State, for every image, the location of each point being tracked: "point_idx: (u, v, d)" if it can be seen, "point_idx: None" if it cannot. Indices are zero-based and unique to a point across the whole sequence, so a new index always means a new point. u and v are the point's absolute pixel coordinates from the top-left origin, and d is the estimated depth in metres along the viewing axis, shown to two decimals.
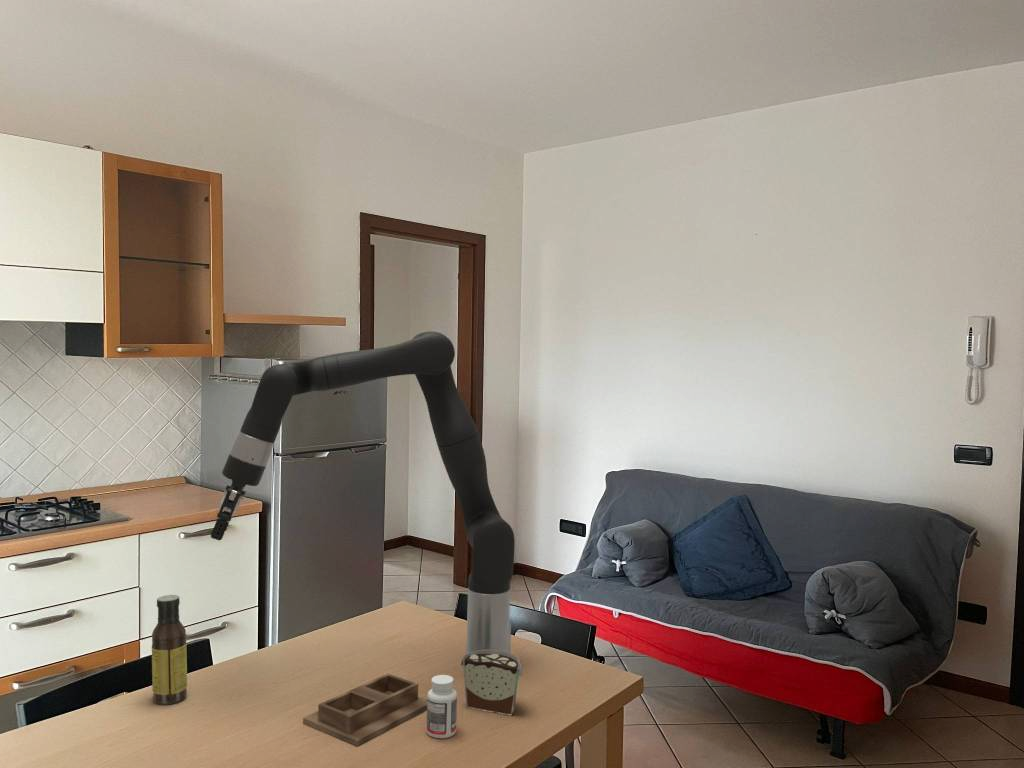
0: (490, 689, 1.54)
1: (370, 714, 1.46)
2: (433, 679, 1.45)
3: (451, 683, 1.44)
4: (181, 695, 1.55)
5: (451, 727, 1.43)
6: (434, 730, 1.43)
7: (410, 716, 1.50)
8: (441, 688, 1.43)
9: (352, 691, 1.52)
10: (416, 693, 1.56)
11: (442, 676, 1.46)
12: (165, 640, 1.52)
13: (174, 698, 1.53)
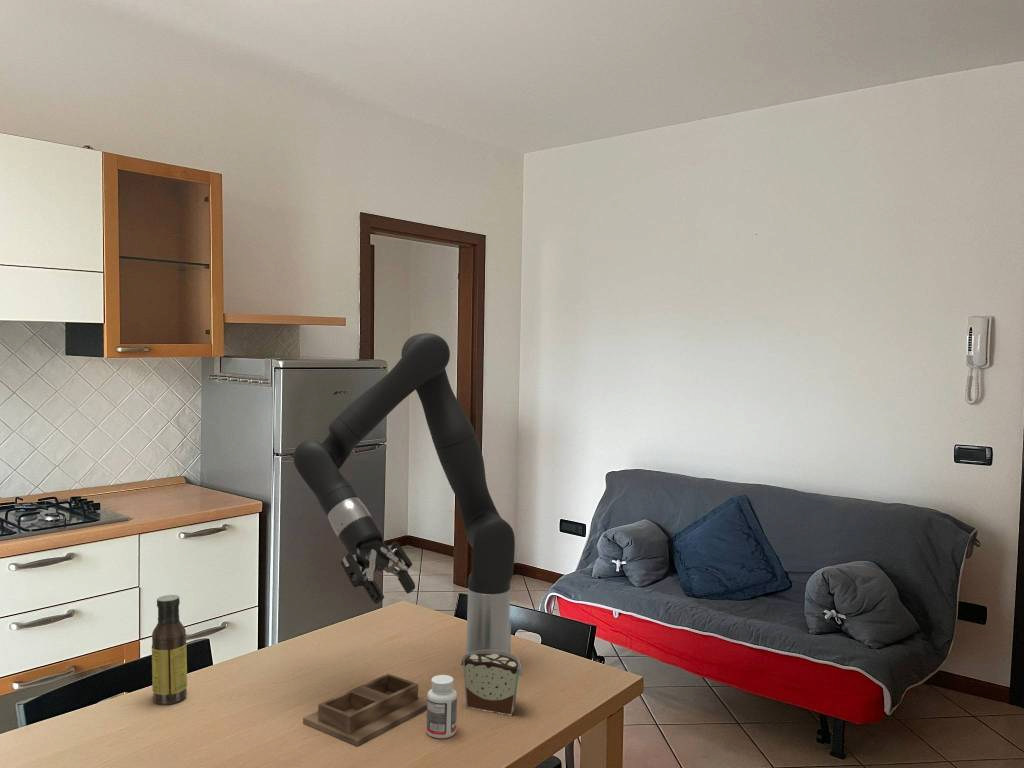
0: (490, 689, 1.54)
1: (370, 714, 1.46)
2: (433, 679, 1.45)
3: (451, 683, 1.44)
4: (181, 695, 1.55)
5: (451, 727, 1.43)
6: (434, 730, 1.43)
7: (410, 716, 1.50)
8: (441, 688, 1.43)
9: (352, 691, 1.52)
10: (416, 693, 1.56)
11: (442, 676, 1.46)
12: (165, 640, 1.52)
13: (174, 698, 1.53)
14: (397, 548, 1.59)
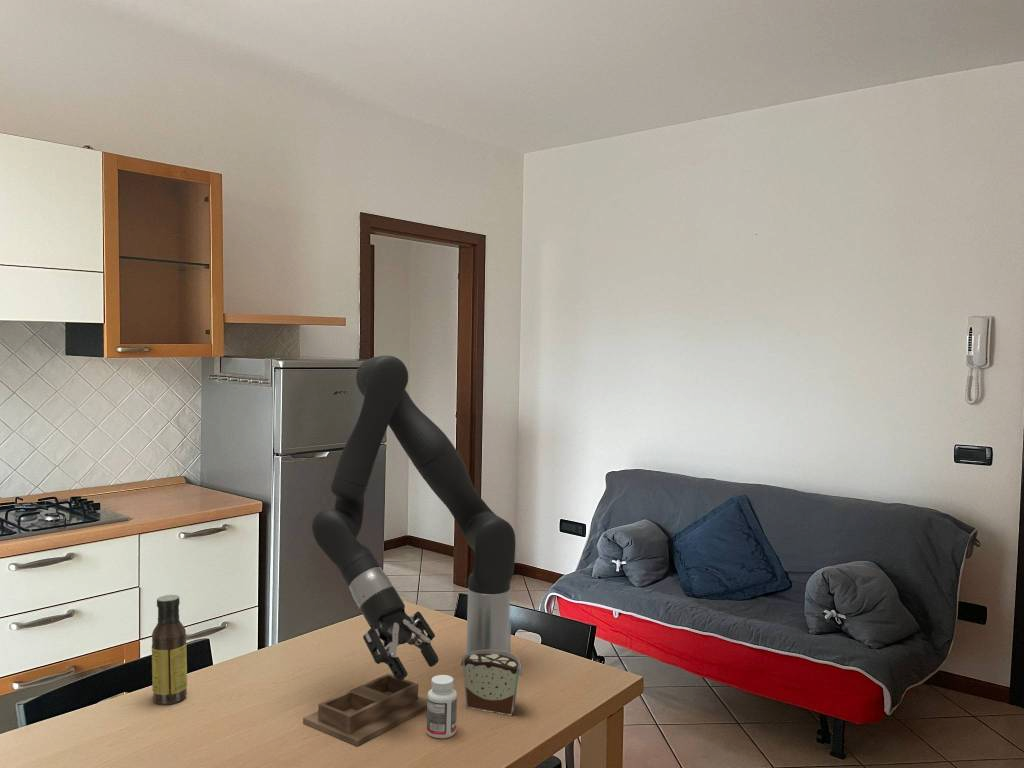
0: (490, 689, 1.54)
1: (370, 714, 1.46)
2: (433, 679, 1.45)
3: (451, 683, 1.44)
4: (181, 695, 1.55)
5: (451, 727, 1.43)
6: (434, 730, 1.43)
7: (410, 716, 1.50)
8: (441, 688, 1.43)
9: (352, 691, 1.52)
10: (416, 693, 1.56)
11: (442, 676, 1.46)
12: (165, 640, 1.52)
13: (174, 698, 1.53)
14: (419, 619, 1.56)
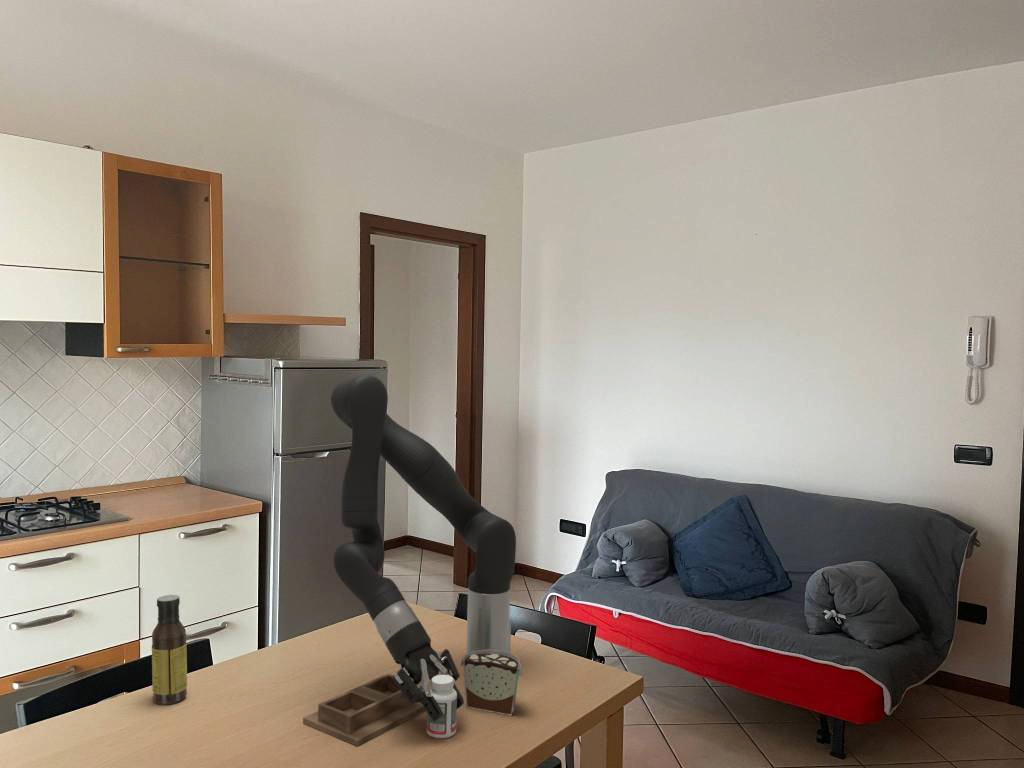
0: (490, 689, 1.54)
1: (370, 714, 1.46)
2: (433, 679, 1.45)
3: (451, 683, 1.44)
4: (181, 695, 1.55)
5: (451, 727, 1.43)
6: (434, 730, 1.43)
7: (410, 716, 1.50)
8: (441, 688, 1.43)
9: (352, 691, 1.52)
10: None
11: (442, 676, 1.46)
12: (166, 640, 1.52)
13: (174, 698, 1.53)
14: (447, 657, 1.51)
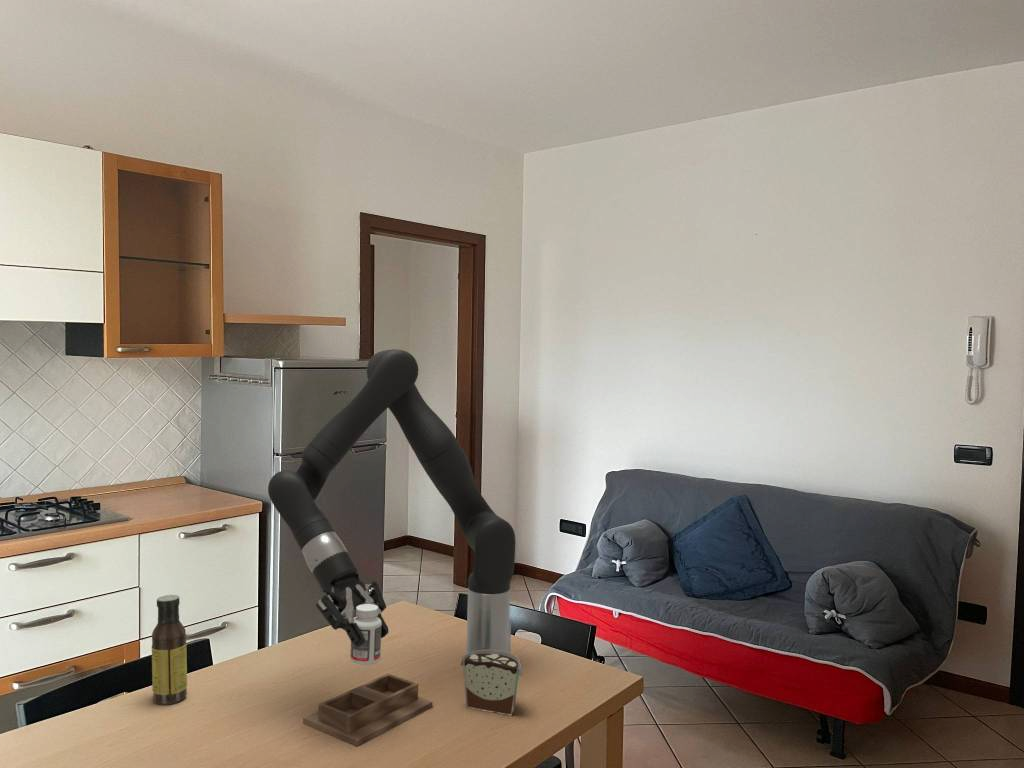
0: (490, 689, 1.54)
1: (370, 714, 1.46)
2: (358, 607, 1.46)
3: (375, 611, 1.45)
4: (181, 695, 1.55)
5: (374, 654, 1.44)
6: (357, 656, 1.44)
7: (410, 716, 1.50)
8: (365, 615, 1.44)
9: (352, 691, 1.52)
10: (416, 693, 1.56)
11: (367, 605, 1.47)
12: (165, 640, 1.52)
13: (174, 698, 1.53)
14: (374, 588, 1.52)
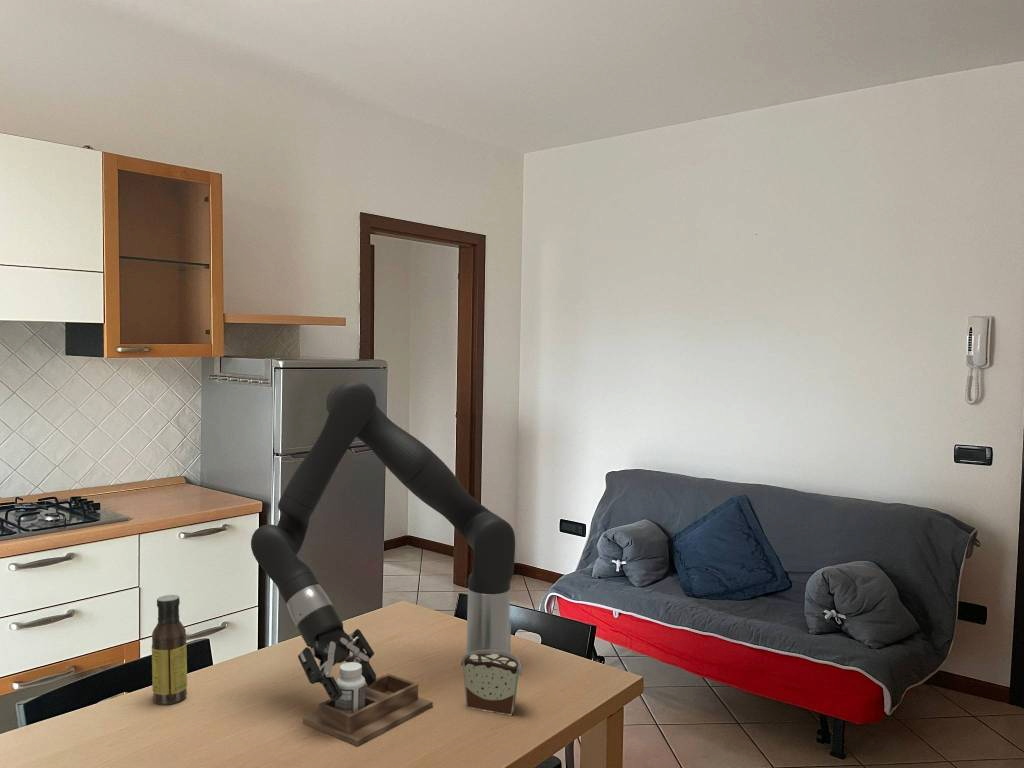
0: (490, 689, 1.54)
1: (370, 714, 1.46)
2: (341, 666, 1.47)
3: (359, 670, 1.46)
4: (181, 695, 1.55)
5: None
6: None
7: (410, 716, 1.50)
8: (348, 675, 1.45)
9: None
10: (416, 693, 1.56)
11: (351, 663, 1.48)
12: (165, 640, 1.52)
13: (174, 698, 1.53)
14: (359, 636, 1.54)
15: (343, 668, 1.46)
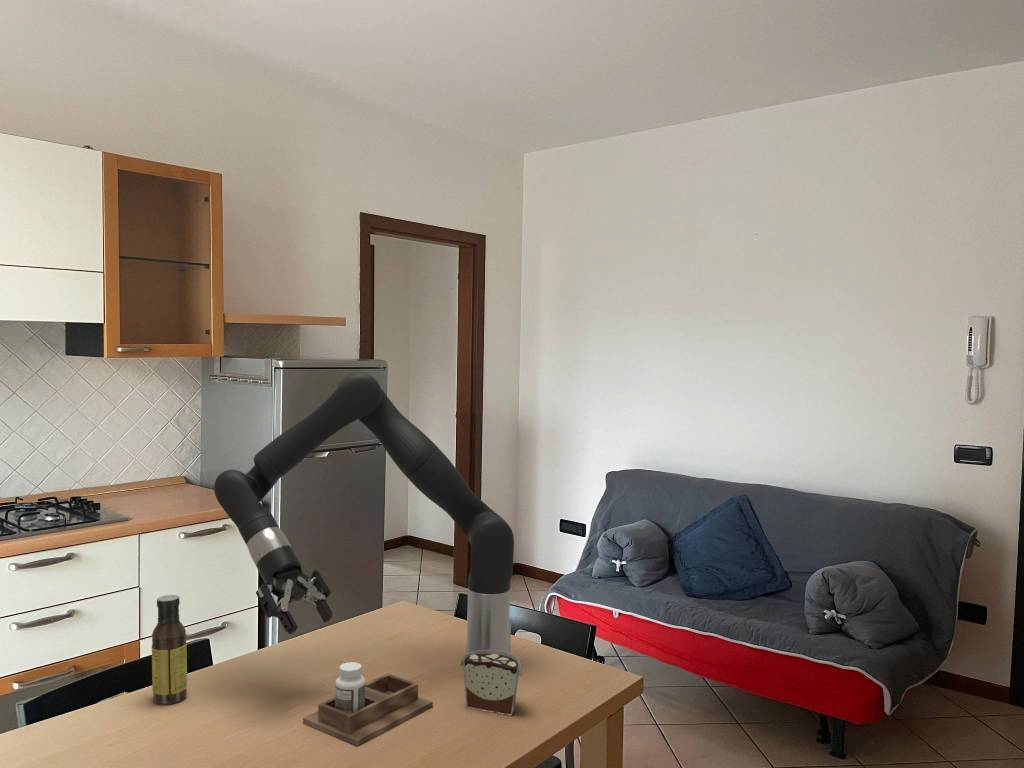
0: (490, 689, 1.54)
1: (370, 714, 1.46)
2: (341, 666, 1.47)
3: (358, 670, 1.46)
4: (181, 695, 1.55)
5: None
6: None
7: (410, 716, 1.50)
8: (348, 675, 1.45)
9: None
10: (416, 693, 1.56)
11: (351, 663, 1.48)
12: (165, 640, 1.52)
13: (174, 698, 1.53)
14: (316, 577, 1.60)
15: (343, 668, 1.46)
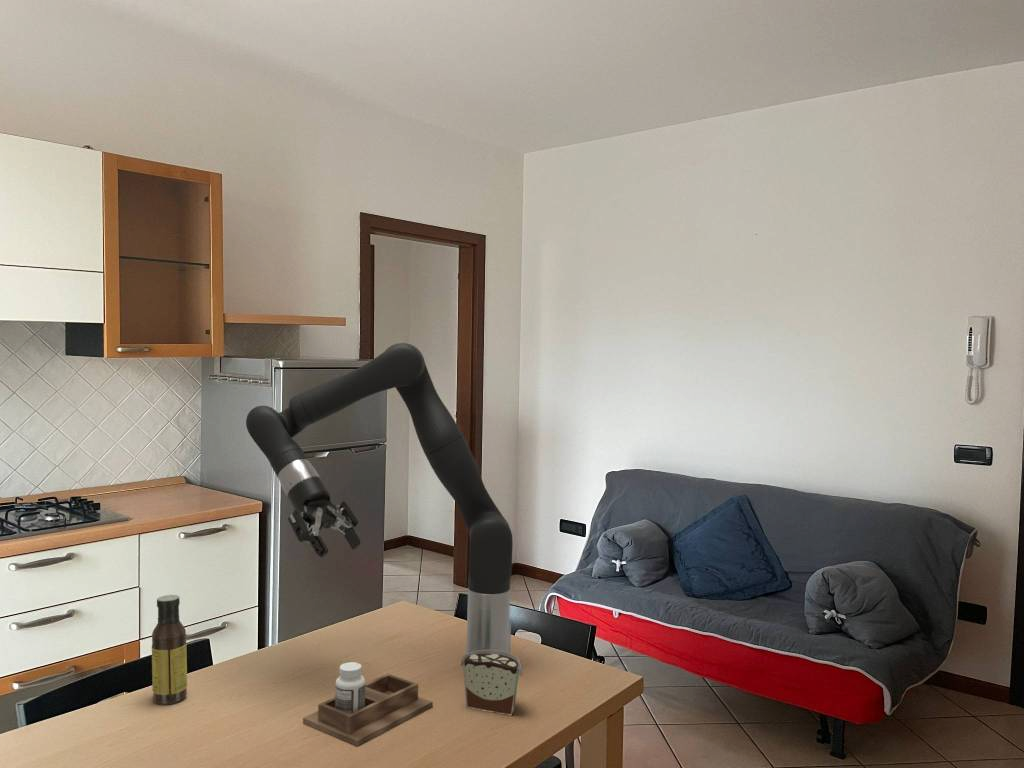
0: (490, 689, 1.54)
1: (370, 714, 1.46)
2: (341, 666, 1.47)
3: (358, 670, 1.46)
4: (181, 695, 1.55)
5: None
6: None
7: (410, 716, 1.50)
8: (348, 675, 1.45)
9: None
10: (416, 693, 1.56)
11: (351, 663, 1.48)
12: (165, 640, 1.52)
13: (174, 698, 1.53)
14: (344, 507, 1.67)
15: (343, 668, 1.46)
